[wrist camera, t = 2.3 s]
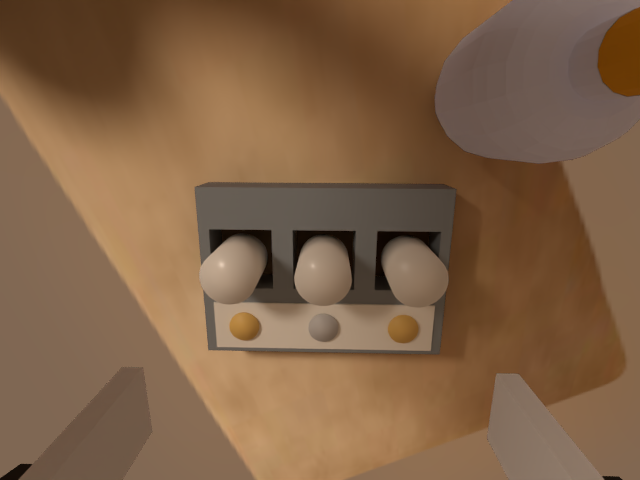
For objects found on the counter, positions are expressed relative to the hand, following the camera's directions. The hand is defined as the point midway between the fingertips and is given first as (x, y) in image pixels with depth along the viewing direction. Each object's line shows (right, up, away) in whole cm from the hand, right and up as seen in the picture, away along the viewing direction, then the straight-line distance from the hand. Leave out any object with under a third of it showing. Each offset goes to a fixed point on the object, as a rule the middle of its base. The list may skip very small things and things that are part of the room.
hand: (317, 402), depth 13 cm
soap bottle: (+15, +19, +22) cm, 33 cm away
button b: (+1, +4, +23) cm, 24 cm away
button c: (+9, +4, +23) cm, 25 cm away
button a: (-7, +4, +23) cm, 25 cm away
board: (+1, +3, +27) cm, 27 cm away
